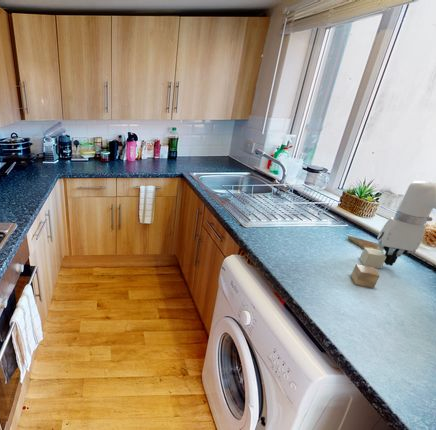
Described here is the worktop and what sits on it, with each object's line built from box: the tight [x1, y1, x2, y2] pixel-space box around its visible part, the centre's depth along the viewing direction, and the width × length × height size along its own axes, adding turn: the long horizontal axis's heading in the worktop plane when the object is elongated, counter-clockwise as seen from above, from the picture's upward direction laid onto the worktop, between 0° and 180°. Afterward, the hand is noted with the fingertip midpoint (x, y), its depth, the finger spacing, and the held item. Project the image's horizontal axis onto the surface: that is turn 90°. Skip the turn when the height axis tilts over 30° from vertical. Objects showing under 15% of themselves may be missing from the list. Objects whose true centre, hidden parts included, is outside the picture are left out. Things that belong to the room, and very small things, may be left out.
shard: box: [347, 235, 385, 252], centre depth 118 cm, size 11×8×2 cm
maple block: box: [350, 263, 381, 289], centre depth 95 cm, size 5×5×5 cm
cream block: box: [359, 247, 386, 270], centre depth 105 cm, size 5×5×5 cm
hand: (387, 263), depth 104 cm, fingers closed
